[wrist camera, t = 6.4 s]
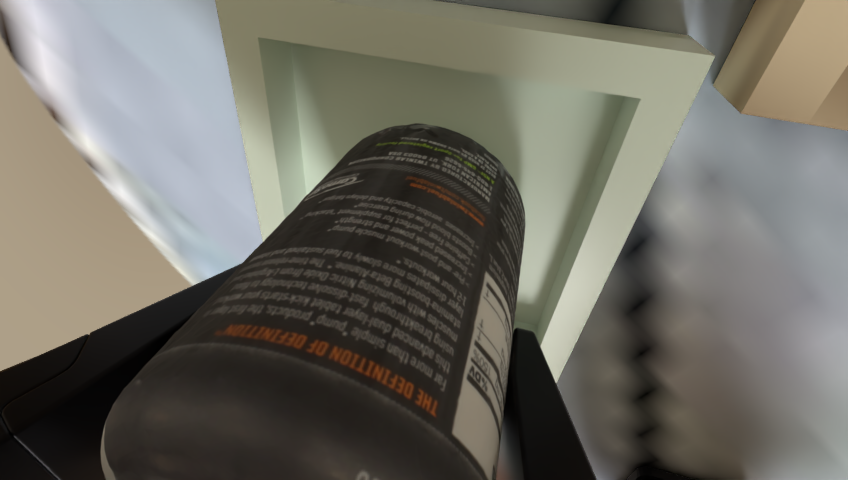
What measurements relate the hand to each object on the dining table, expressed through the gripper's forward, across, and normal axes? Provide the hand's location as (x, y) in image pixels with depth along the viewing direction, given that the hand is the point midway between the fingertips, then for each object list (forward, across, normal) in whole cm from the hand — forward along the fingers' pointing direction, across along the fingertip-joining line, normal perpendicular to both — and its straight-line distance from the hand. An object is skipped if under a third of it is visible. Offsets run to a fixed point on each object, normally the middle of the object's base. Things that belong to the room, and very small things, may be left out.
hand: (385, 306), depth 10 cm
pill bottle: (+4, 0, 0) cm, 4 cm away
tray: (+5, 0, 0) cm, 5 cm away
